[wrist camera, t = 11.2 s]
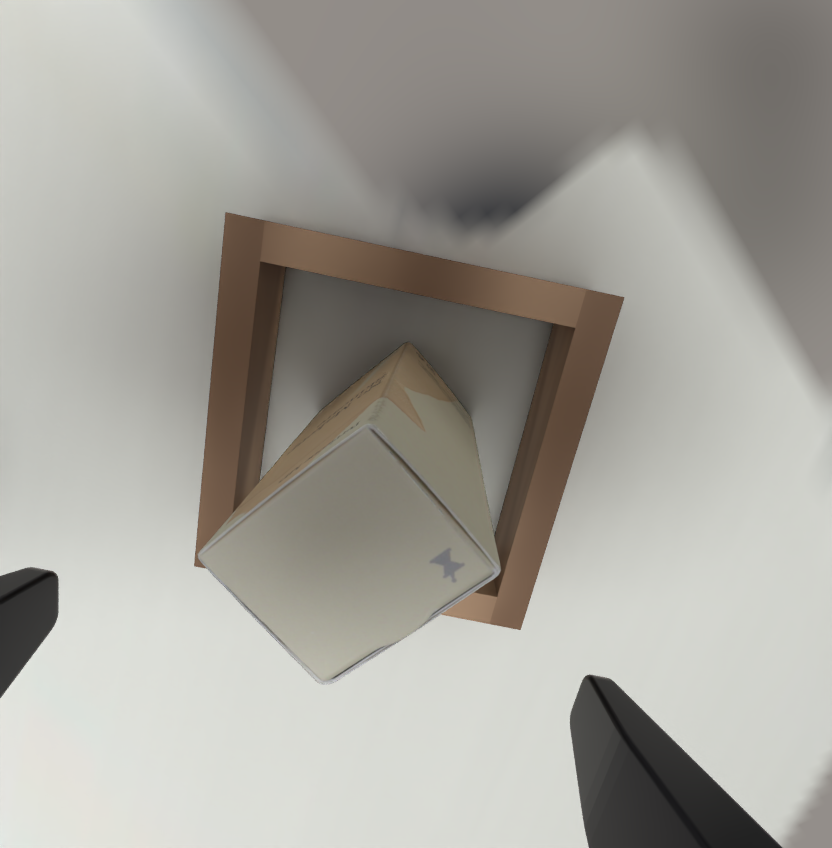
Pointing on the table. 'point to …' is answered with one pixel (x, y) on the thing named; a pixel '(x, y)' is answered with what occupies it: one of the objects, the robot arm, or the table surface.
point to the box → (363, 522)
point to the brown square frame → (428, 276)
